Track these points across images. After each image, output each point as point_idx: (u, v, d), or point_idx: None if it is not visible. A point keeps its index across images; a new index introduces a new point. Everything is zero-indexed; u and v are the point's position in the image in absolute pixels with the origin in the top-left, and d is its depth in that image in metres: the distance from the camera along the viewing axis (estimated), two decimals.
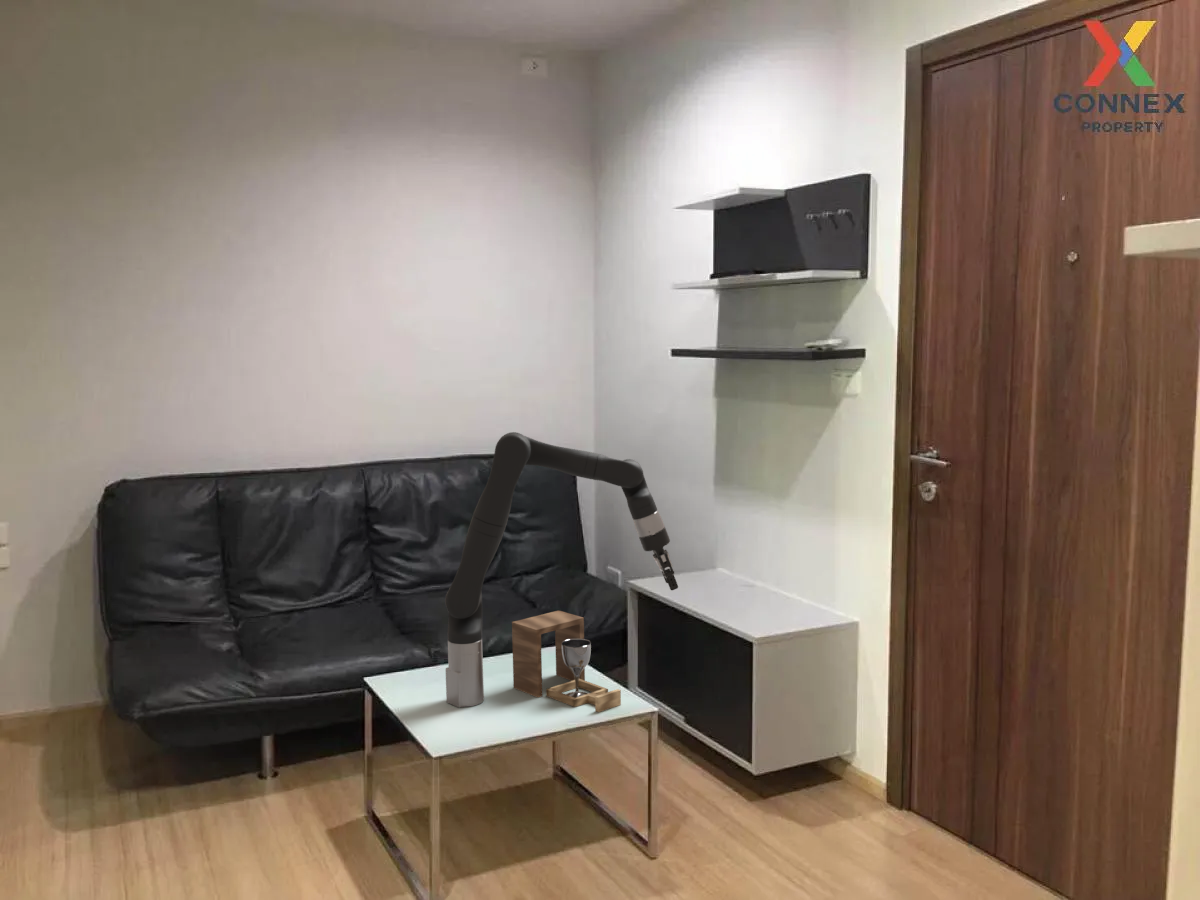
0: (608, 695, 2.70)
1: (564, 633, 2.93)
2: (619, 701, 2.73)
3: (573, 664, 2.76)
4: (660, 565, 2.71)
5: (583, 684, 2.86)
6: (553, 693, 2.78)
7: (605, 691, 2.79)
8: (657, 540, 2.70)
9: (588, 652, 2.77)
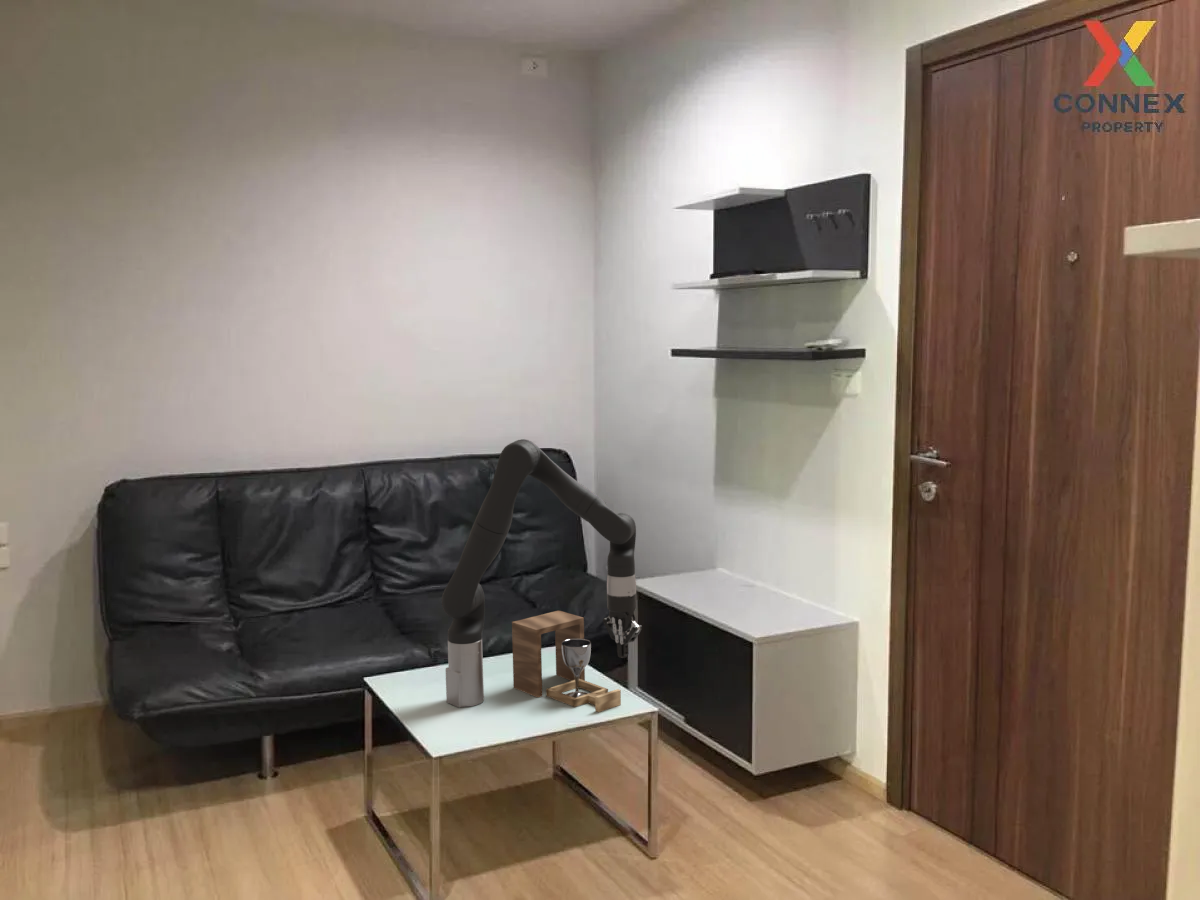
0: (608, 695, 2.70)
1: (564, 633, 2.93)
2: (619, 701, 2.73)
3: (573, 664, 2.76)
4: (623, 631, 2.62)
5: (583, 684, 2.86)
6: (553, 693, 2.78)
7: (605, 691, 2.79)
8: (632, 602, 2.61)
9: (588, 652, 2.77)
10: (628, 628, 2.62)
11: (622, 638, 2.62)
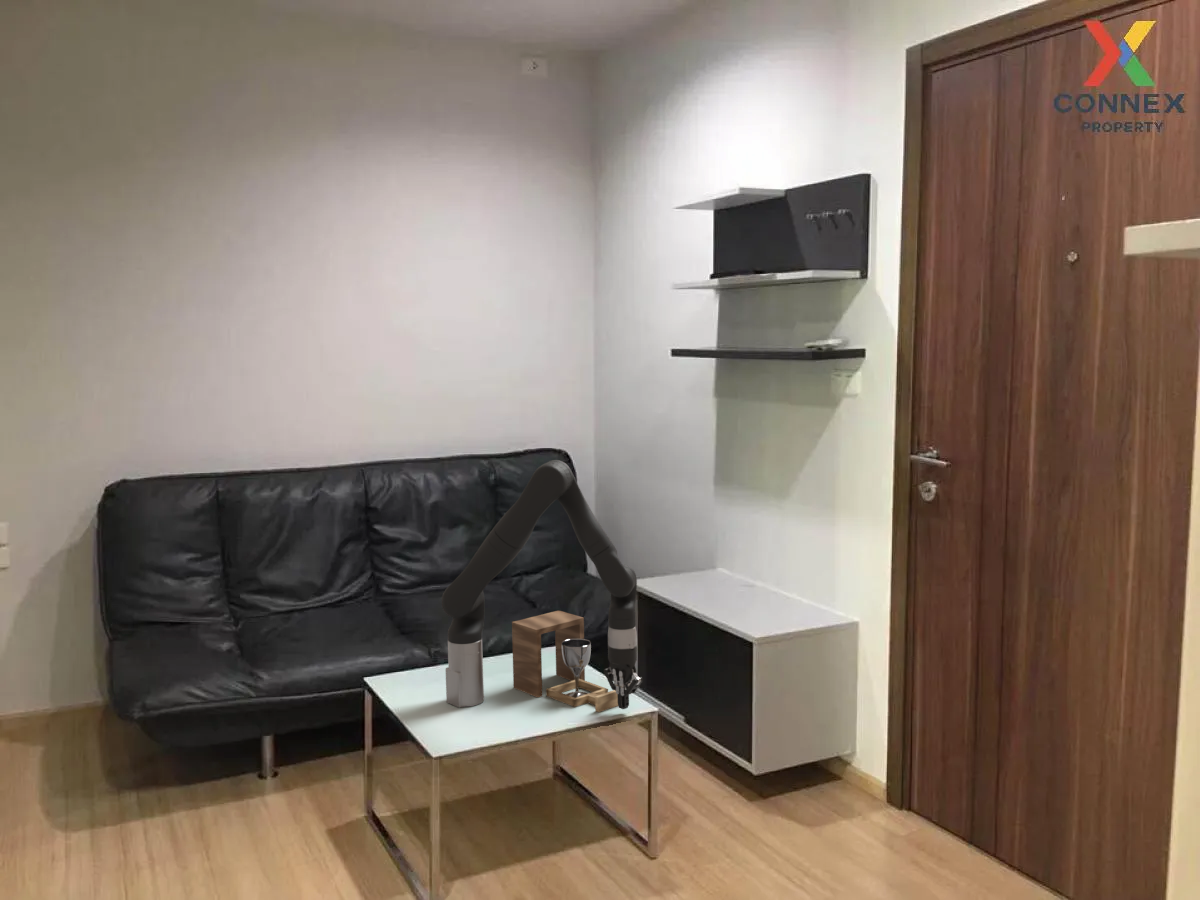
0: (608, 695, 2.70)
1: (564, 633, 2.93)
2: None
3: (573, 664, 2.76)
4: (623, 683, 2.63)
5: (583, 684, 2.86)
6: (553, 693, 2.78)
7: (605, 691, 2.79)
8: (633, 654, 2.62)
9: (588, 652, 2.77)
10: (629, 680, 2.63)
11: (623, 689, 2.64)
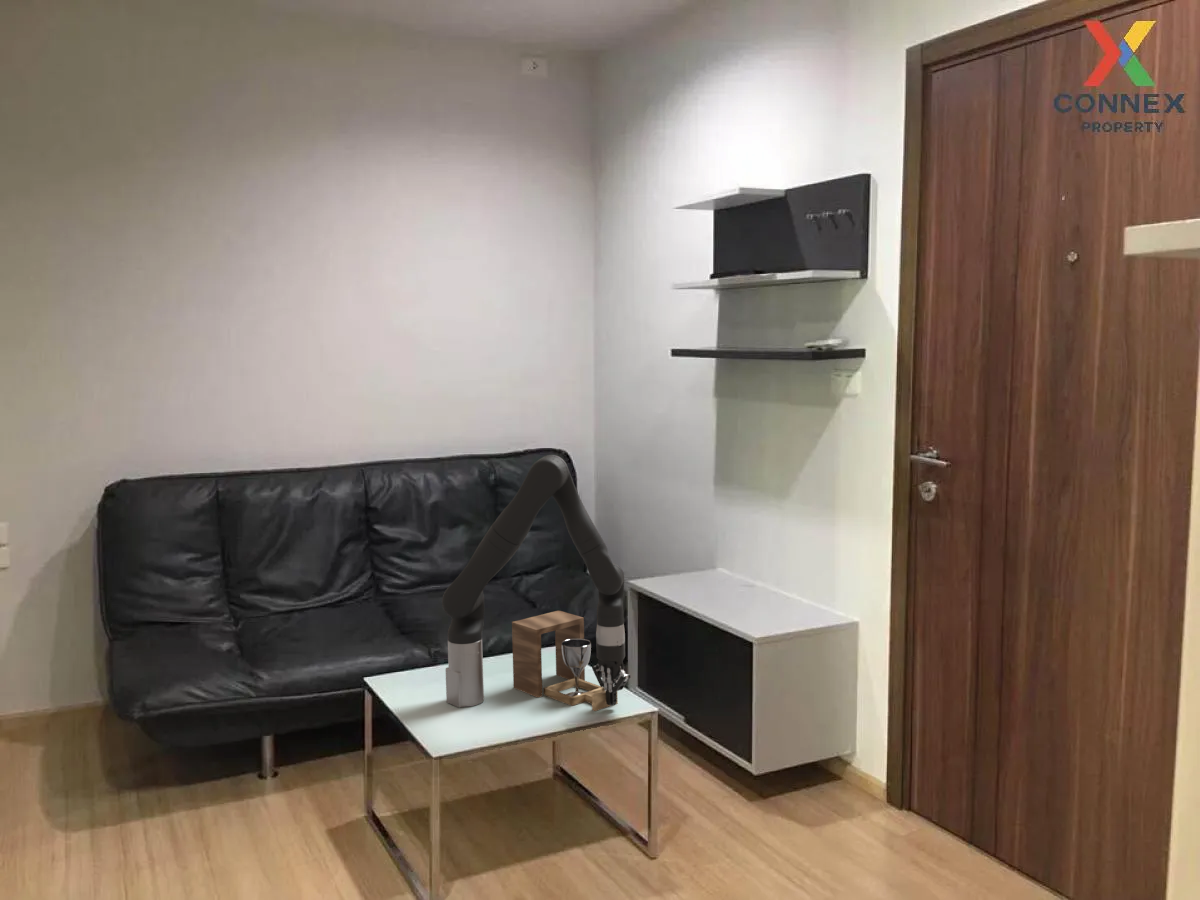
0: (605, 694, 2.71)
1: (564, 633, 2.93)
2: None
3: (573, 664, 2.76)
4: (611, 680, 2.67)
5: (580, 683, 2.87)
6: (550, 692, 2.79)
7: (602, 690, 2.80)
8: (621, 651, 2.65)
9: (588, 652, 2.77)
10: (616, 677, 2.66)
11: (611, 686, 2.67)
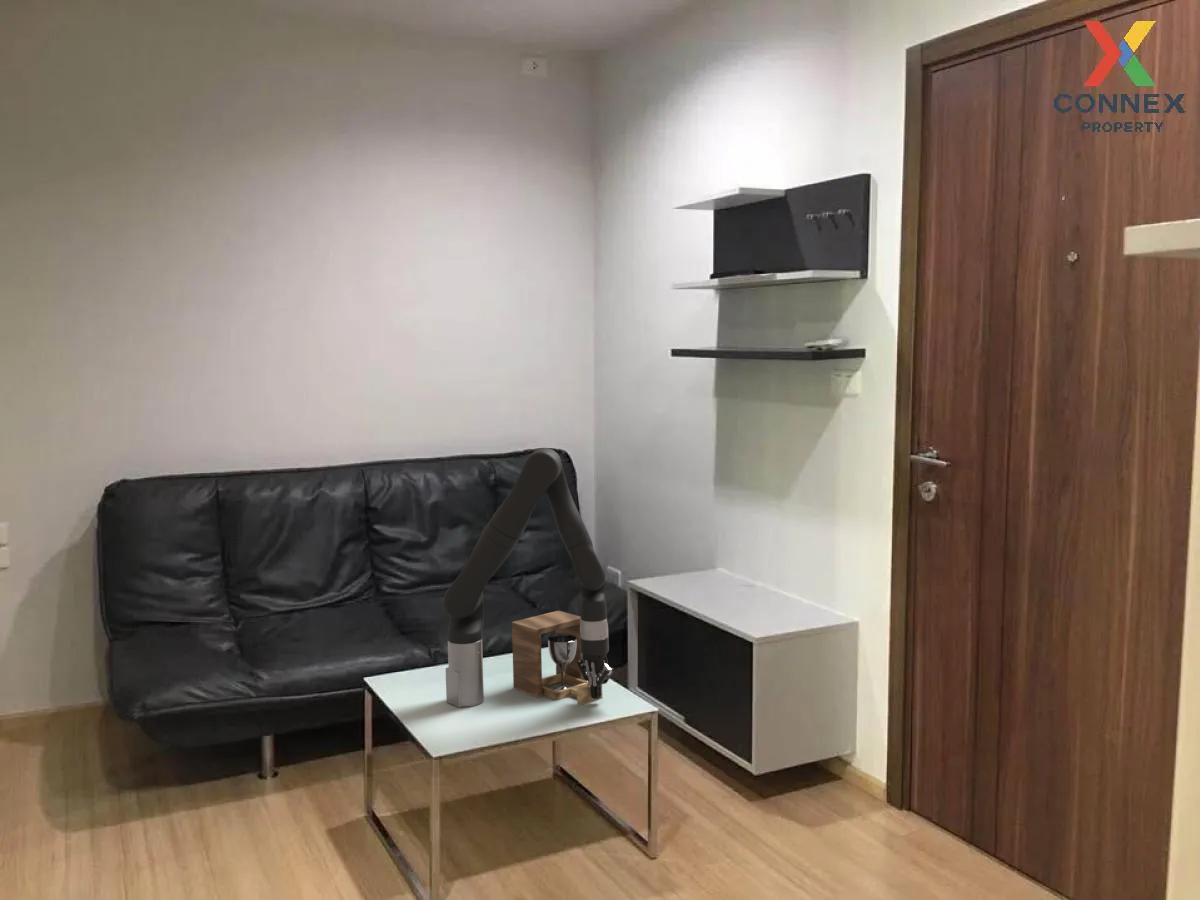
0: None
1: (564, 633, 2.93)
2: (601, 694, 2.78)
3: (559, 659, 2.80)
4: (596, 674, 2.71)
5: (566, 678, 2.91)
6: None
7: (587, 685, 2.84)
8: (604, 646, 2.70)
9: (574, 647, 2.81)
10: (600, 670, 2.71)
11: (595, 680, 2.72)
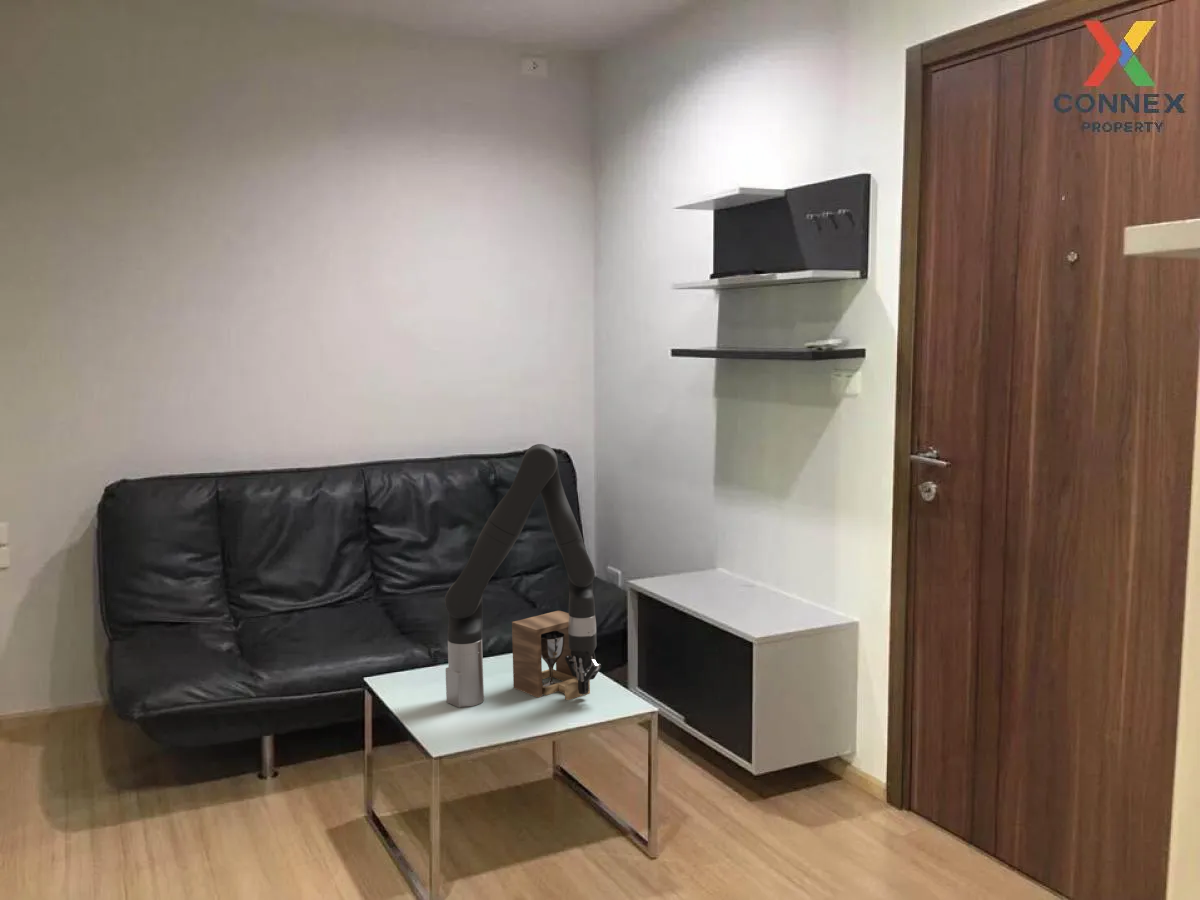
0: (577, 684, 2.79)
1: (564, 633, 2.93)
2: None
3: (547, 655, 2.84)
4: (583, 669, 2.75)
5: (555, 674, 2.95)
6: None
7: (575, 680, 2.88)
8: (592, 642, 2.74)
9: (562, 643, 2.85)
10: (588, 666, 2.75)
11: (582, 676, 2.75)
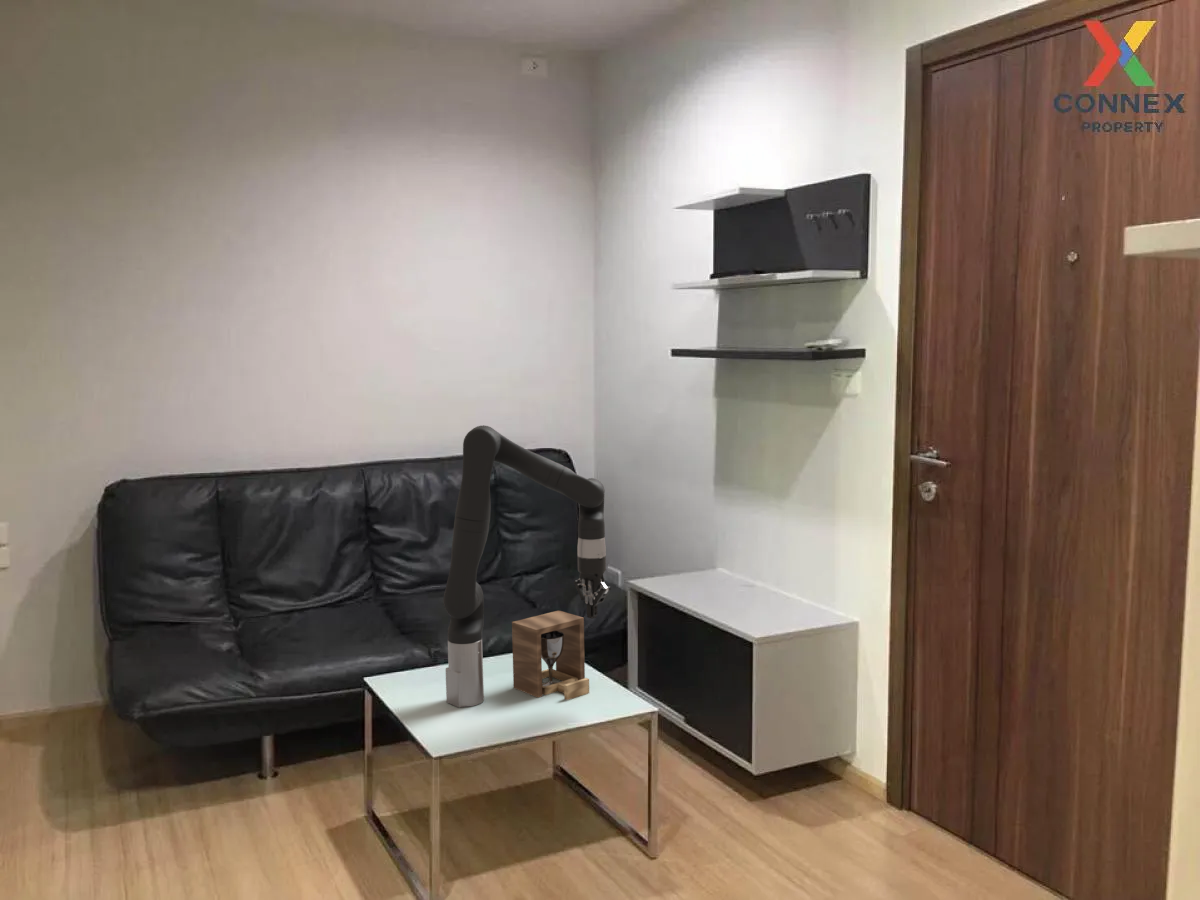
0: (577, 683, 2.79)
1: (564, 633, 2.93)
2: (588, 689, 2.82)
3: (547, 655, 2.84)
4: (592, 592, 2.71)
5: (554, 674, 2.95)
6: None
7: (575, 680, 2.88)
8: (602, 564, 2.70)
9: (561, 643, 2.85)
10: (597, 589, 2.71)
11: (591, 599, 2.71)
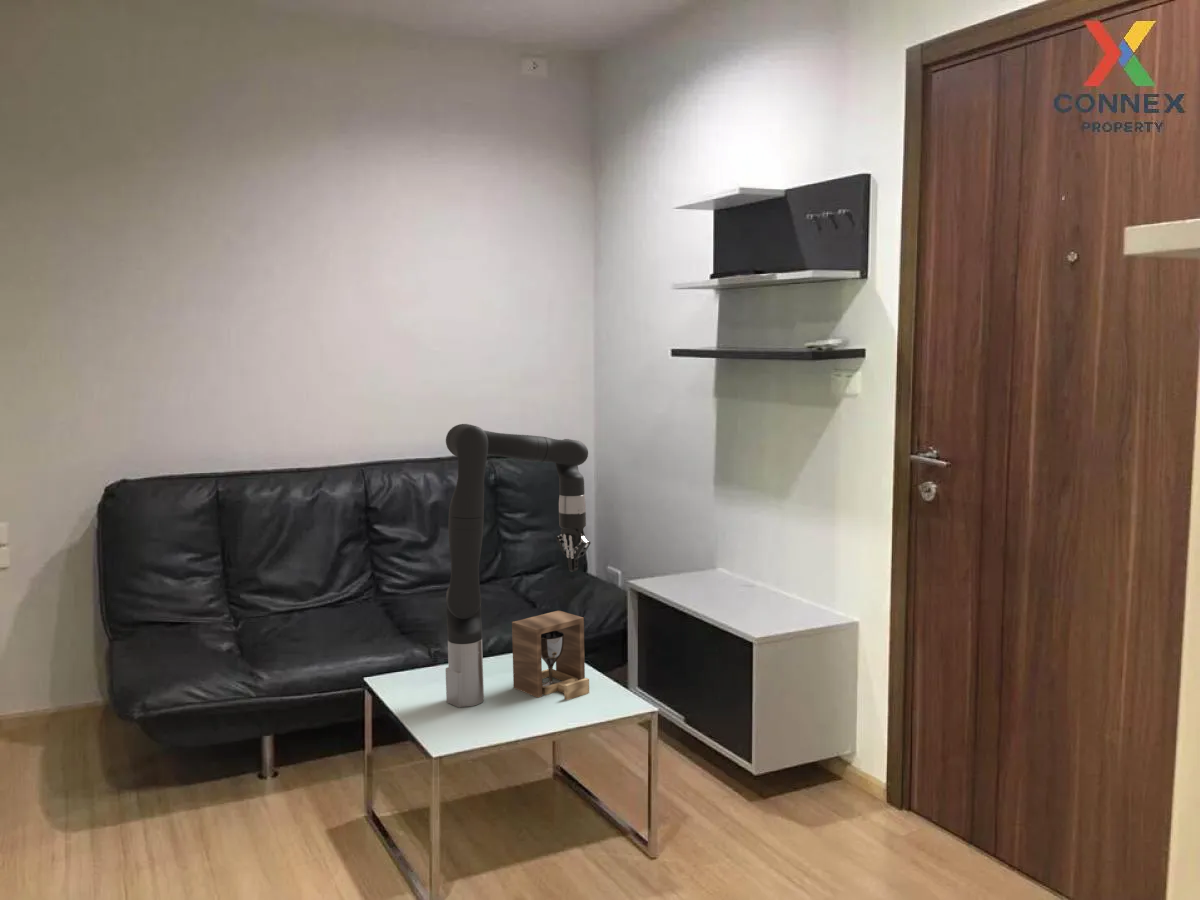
0: (577, 683, 2.79)
1: (564, 633, 2.93)
2: (588, 689, 2.82)
3: (547, 655, 2.84)
4: (573, 546, 2.86)
5: (554, 674, 2.95)
6: None
7: (575, 680, 2.88)
8: (582, 519, 2.85)
9: (561, 643, 2.85)
10: (578, 543, 2.86)
11: (572, 553, 2.87)
